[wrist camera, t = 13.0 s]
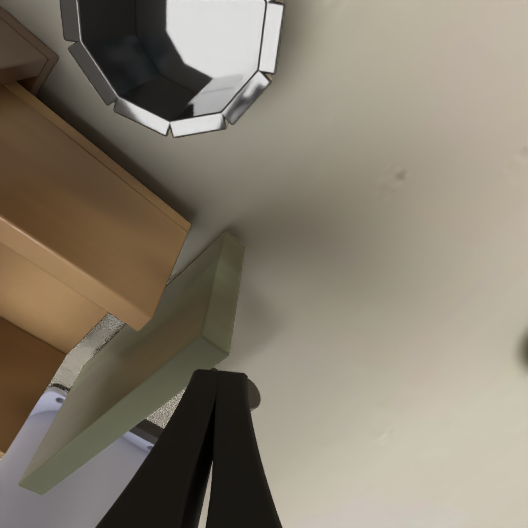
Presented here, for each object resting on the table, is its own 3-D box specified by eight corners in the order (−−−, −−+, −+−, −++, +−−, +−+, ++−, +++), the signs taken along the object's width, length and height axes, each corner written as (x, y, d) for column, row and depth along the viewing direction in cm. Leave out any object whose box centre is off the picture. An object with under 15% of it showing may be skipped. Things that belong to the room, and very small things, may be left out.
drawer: (308, 299, 19) (322, 419, 14) (161, 410, 24) (125, 531, 19) (-52, -5, 13) (-313, -21, 7) (-152, 229, 18) (-355, 330, 12)
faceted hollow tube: (243, 128, 16) (231, 169, 12) (106, 58, 15) (36, 75, 10) (311, -22, 13) (328, -40, 9) (150, -123, 12) (80, -201, 8)
